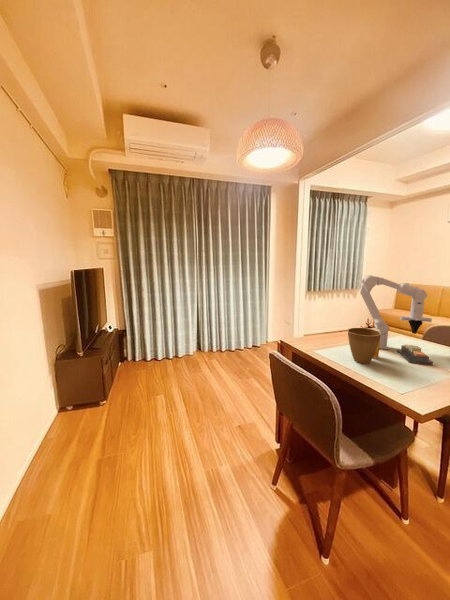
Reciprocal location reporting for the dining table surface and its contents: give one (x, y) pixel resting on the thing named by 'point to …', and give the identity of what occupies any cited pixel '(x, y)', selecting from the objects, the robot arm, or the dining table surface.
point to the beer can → (377, 347)
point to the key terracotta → (419, 353)
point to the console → (413, 357)
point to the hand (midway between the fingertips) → (413, 333)
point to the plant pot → (363, 343)
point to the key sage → (414, 348)
